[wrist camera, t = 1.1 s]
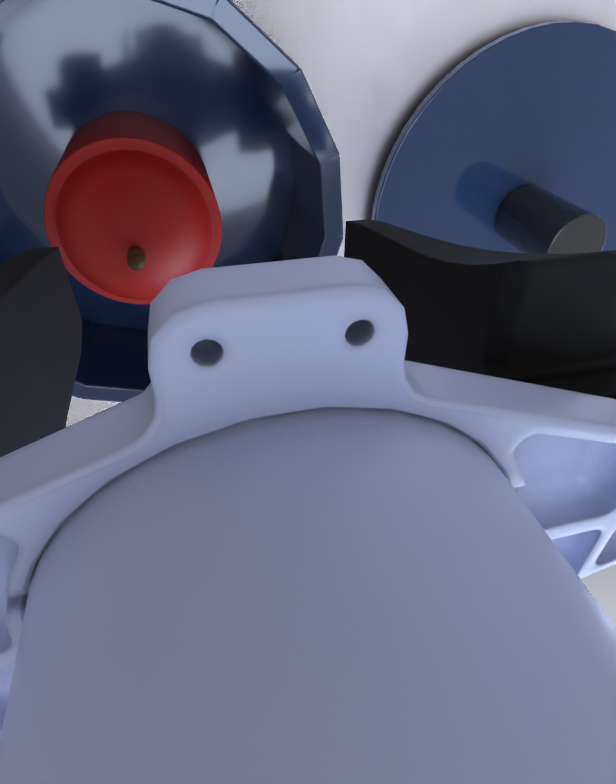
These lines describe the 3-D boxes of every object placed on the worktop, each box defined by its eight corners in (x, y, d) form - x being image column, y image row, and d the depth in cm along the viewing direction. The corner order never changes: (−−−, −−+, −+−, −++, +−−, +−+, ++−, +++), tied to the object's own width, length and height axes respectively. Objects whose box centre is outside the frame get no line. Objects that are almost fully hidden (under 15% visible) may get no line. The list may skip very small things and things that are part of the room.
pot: (195, 378, 26) (203, 446, 22) (-126, 231, 18) (-196, 295, 15) (371, 148, 21) (421, 184, 17) (31, -175, 14) (-12, -236, 10)
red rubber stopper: (165, 282, 22) (171, 373, 17) (34, 208, 19) (-8, 292, 14) (237, 174, 20) (269, 240, 15) (103, 74, 17) (85, 112, 12)
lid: (480, 372, 30) (529, 428, 27) (302, 244, 23) (335, 297, 19) (691, 170, 25) (789, 203, 22) (554, -84, 18) (669, -103, 14)
